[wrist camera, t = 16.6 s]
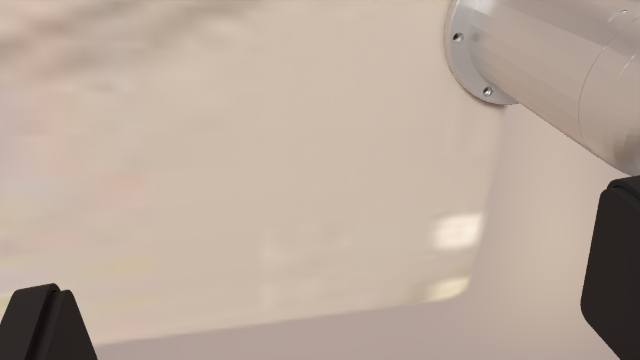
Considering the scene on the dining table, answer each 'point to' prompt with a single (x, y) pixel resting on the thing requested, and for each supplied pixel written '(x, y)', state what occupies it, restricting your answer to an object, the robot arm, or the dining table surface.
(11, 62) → the dining table surface
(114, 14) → the dining table surface
